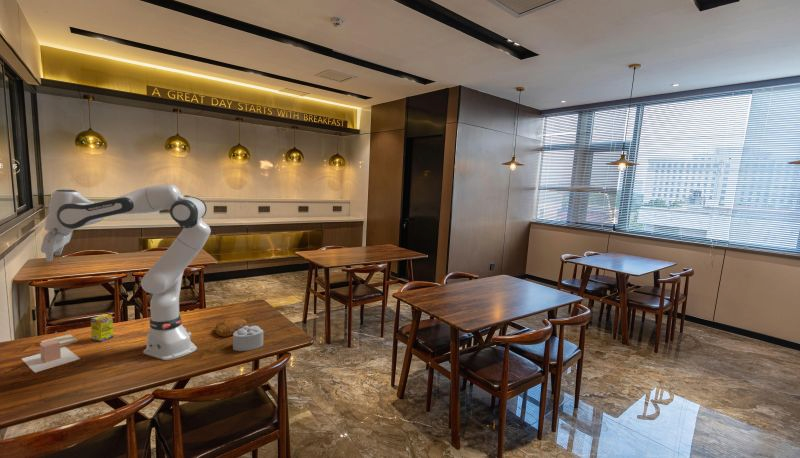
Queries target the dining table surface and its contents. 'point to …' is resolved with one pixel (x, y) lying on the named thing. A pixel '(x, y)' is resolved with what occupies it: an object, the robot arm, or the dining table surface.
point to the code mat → (40, 365)
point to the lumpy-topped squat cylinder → (247, 338)
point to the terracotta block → (50, 350)
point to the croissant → (229, 326)
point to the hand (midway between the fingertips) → (53, 257)
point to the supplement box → (102, 328)
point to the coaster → (63, 339)
